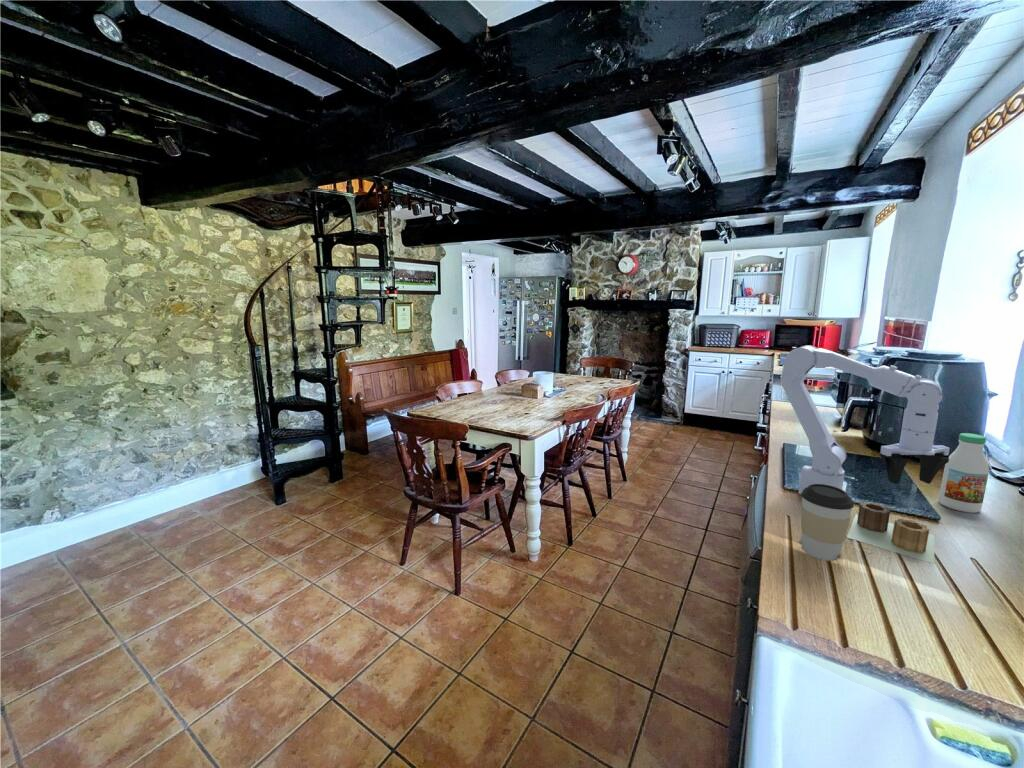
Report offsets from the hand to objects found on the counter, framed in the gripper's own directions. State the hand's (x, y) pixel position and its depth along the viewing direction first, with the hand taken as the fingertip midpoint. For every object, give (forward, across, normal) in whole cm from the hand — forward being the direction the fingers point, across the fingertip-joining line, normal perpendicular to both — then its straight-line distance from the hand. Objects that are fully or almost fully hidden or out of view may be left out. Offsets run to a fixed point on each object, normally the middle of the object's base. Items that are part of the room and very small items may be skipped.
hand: (909, 482), depth 99 cm
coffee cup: (+11, -30, -13) cm, 34 cm away
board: (+10, -11, -9) cm, 18 cm away
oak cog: (+9, -11, -13) cm, 19 cm away
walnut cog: (+9, -12, -5) cm, 16 cm away
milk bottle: (+11, +21, +7) cm, 25 cm away
